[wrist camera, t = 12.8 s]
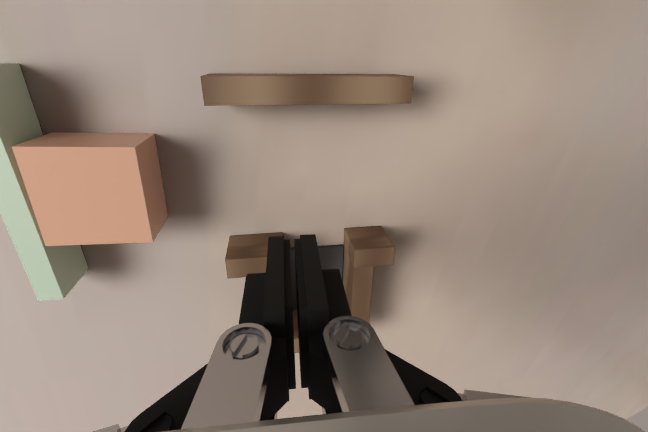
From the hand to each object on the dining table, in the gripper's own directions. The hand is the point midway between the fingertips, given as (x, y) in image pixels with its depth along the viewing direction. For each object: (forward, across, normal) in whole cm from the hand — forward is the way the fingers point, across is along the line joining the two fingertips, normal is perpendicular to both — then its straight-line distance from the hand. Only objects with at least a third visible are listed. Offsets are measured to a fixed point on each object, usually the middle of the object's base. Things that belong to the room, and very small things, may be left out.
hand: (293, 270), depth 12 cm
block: (+13, +12, +1) cm, 18 cm away
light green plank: (+13, +16, +1) cm, 20 cm away
